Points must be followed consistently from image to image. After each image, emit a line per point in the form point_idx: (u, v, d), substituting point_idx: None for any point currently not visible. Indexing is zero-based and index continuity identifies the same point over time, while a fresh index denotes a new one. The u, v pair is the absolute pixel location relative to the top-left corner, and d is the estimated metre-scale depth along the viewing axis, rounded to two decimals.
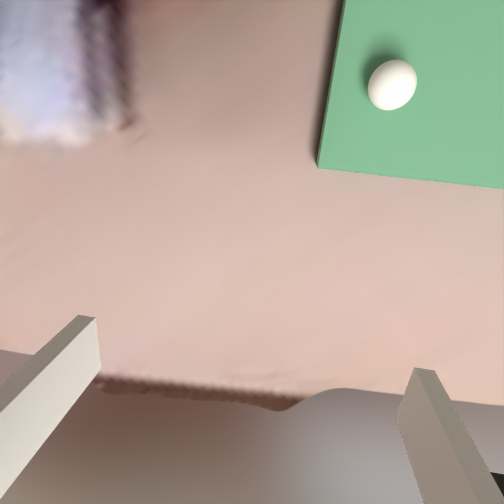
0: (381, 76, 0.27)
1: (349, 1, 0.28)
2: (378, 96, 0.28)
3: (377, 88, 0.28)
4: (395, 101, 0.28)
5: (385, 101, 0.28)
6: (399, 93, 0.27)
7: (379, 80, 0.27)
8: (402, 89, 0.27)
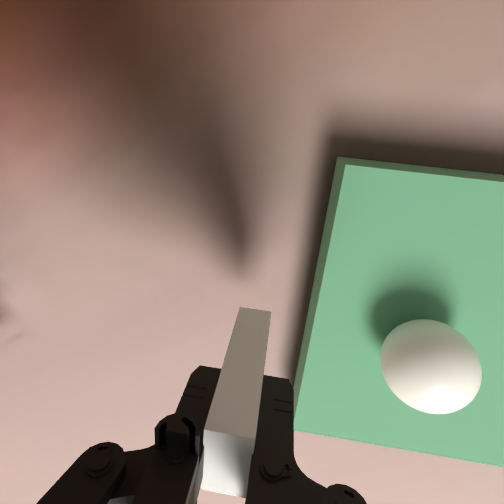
0: (410, 374, 0.13)
1: (344, 203, 0.14)
2: (402, 398, 0.14)
3: (401, 389, 0.14)
4: None
5: (417, 409, 0.14)
6: (447, 410, 0.13)
7: (405, 379, 0.13)
8: (454, 407, 0.13)
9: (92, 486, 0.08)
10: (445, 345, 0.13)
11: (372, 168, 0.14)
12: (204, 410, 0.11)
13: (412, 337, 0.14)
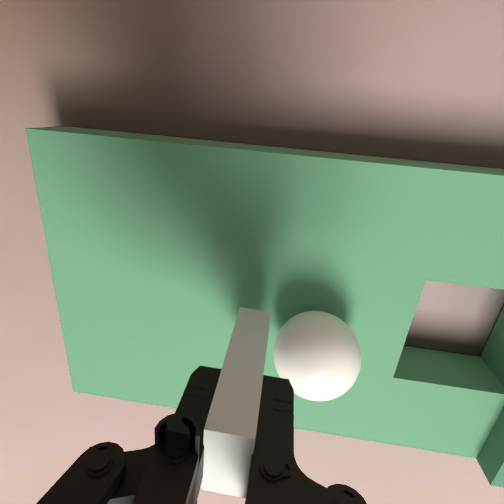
0: None
1: (37, 166, 0.15)
2: None
3: None
4: (279, 373, 0.15)
5: None
6: None
7: None
8: (273, 357, 0.15)
9: (92, 486, 0.08)
10: (304, 315, 0.15)
11: (48, 131, 0.15)
12: (204, 410, 0.11)
13: None
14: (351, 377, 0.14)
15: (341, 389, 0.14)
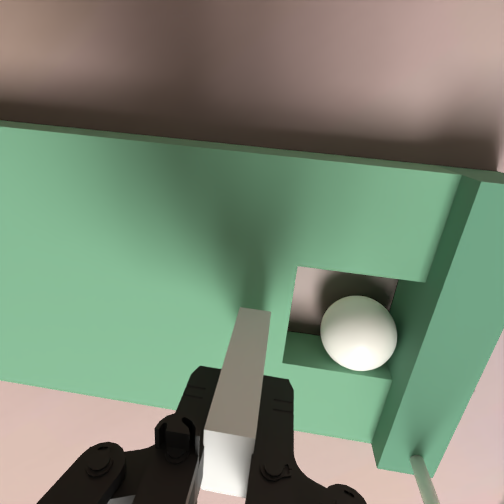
0: None
1: None
2: None
3: None
4: None
5: None
6: None
7: None
8: None
9: (92, 486, 0.08)
10: None
11: None
12: (204, 410, 0.11)
13: (385, 308, 0.18)
14: (336, 338, 0.17)
15: (328, 343, 0.17)
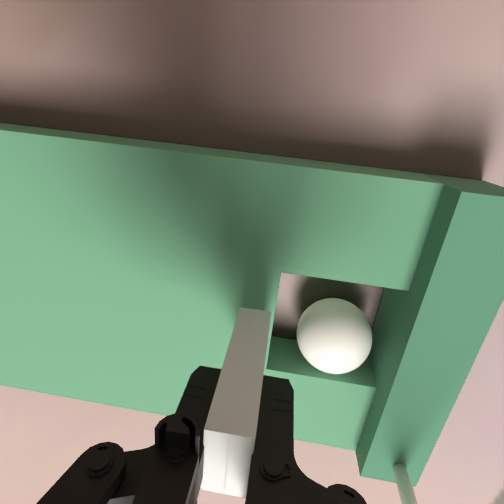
0: None
1: None
2: None
3: None
4: None
5: None
6: None
7: None
8: None
9: (92, 486, 0.08)
10: (345, 300, 0.18)
11: None
12: (204, 410, 0.11)
13: (363, 314, 0.17)
14: (304, 333, 0.17)
15: (299, 339, 0.17)
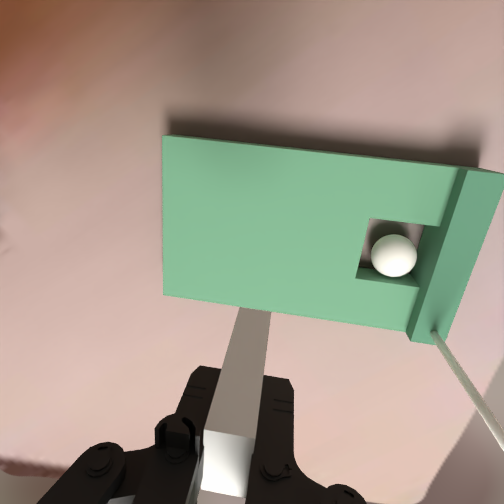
0: None
1: (165, 155, 0.29)
2: None
3: None
4: None
5: None
6: None
7: None
8: None
9: (92, 486, 0.08)
10: None
11: (174, 137, 0.28)
12: (204, 410, 0.11)
13: None
14: (377, 250, 0.30)
15: (373, 255, 0.30)
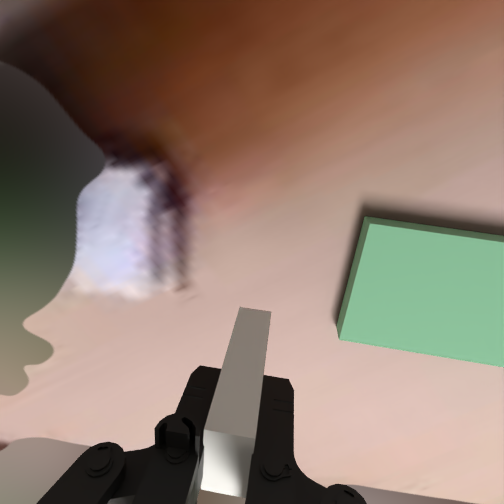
0: None
1: (368, 237, 0.37)
2: None
3: None
4: None
5: None
6: None
7: None
8: None
9: (92, 486, 0.08)
10: None
11: (380, 225, 0.36)
12: (204, 410, 0.11)
13: None
14: None
15: None
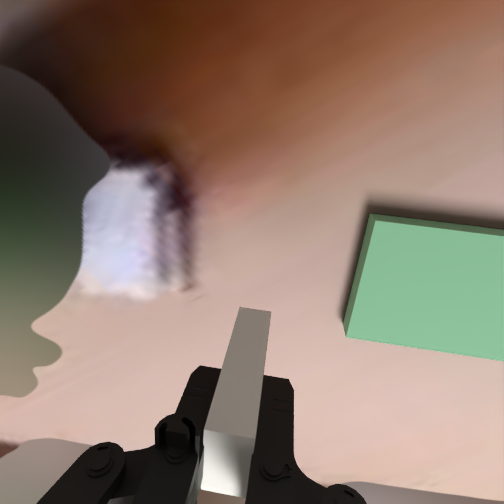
0: None
1: (374, 234, 0.37)
2: None
3: None
4: None
5: None
6: None
7: None
8: None
9: (92, 486, 0.08)
10: None
11: (385, 222, 0.36)
12: (204, 410, 0.11)
13: None
14: None
15: None
